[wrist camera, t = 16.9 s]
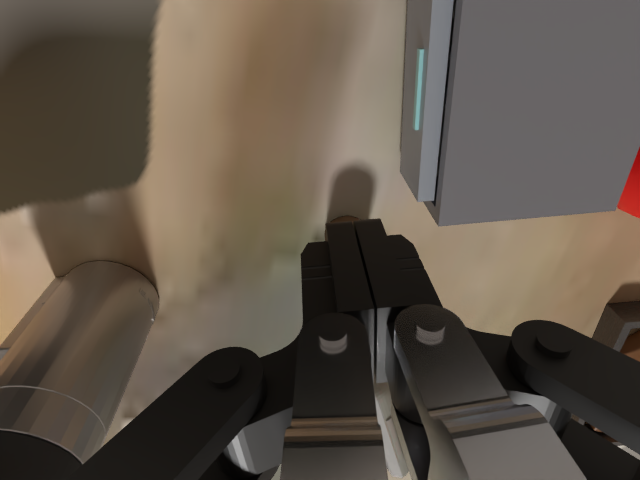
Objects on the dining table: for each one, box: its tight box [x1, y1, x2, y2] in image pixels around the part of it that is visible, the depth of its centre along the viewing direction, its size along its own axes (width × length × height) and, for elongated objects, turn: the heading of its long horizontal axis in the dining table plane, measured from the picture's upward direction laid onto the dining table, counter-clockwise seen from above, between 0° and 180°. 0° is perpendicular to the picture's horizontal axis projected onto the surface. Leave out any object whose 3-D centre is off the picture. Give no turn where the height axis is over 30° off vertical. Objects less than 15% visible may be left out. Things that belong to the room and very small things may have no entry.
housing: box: [423, 0, 640, 226], centre depth 27 cm, size 13×18×8 cm
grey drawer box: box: [400, 0, 456, 202], centre depth 27 cm, size 13×15×6 cm
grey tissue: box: [373, 374, 409, 478], centre depth 44 cm, size 16×9×11 cm, turn 4°
